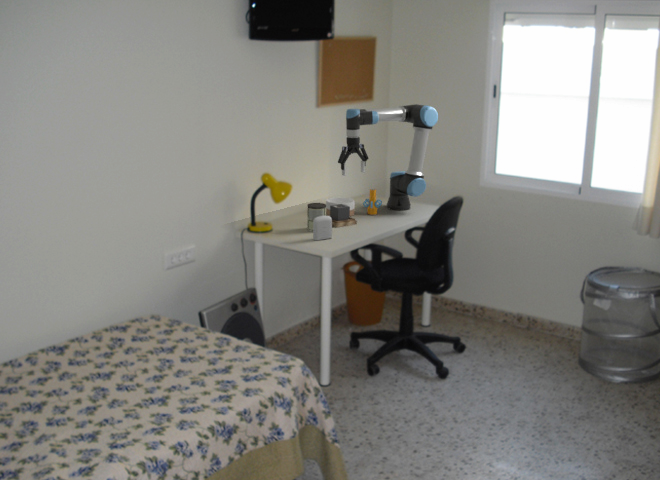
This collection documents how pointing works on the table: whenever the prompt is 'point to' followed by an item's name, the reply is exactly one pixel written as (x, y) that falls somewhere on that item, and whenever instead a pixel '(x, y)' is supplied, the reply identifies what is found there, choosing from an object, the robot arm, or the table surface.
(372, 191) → the orange tube with rings
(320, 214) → the coffee can
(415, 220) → the table surface
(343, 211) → the hollow dark grey cube
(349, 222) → the plate
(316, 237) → the photo printer
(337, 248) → the table surface
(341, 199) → the bowl
